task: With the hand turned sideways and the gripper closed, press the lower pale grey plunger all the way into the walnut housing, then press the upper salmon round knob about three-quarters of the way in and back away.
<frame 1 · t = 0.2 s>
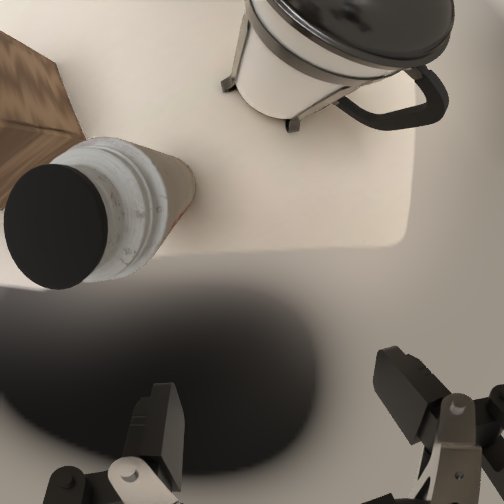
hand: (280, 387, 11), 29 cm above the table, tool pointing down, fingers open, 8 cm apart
thermos bottle: (163, 187, 36), on the table
housing: (10, 100, 29), on the table
coffee press: (288, 82, 35), on the table
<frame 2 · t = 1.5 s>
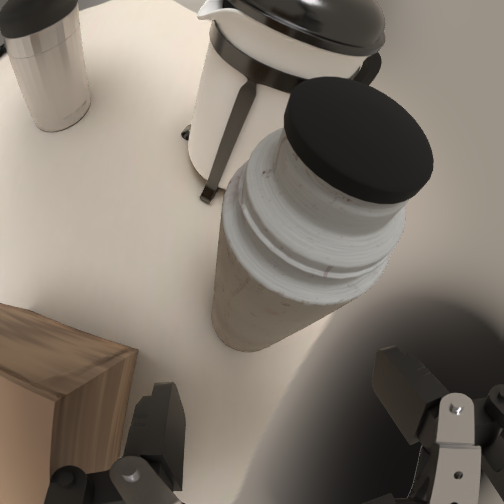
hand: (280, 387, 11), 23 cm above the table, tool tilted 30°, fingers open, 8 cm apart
thermos bottle: (248, 316, 33), point 1 cm above the table
housing: (14, 382, 24), on the table
coffee press: (239, 156, 39), on the table
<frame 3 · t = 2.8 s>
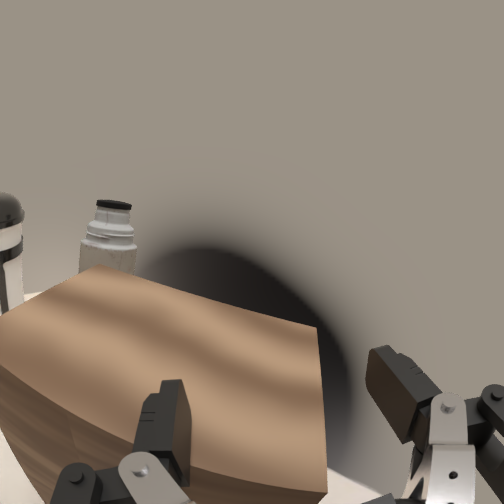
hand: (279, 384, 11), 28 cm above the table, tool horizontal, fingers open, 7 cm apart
thermos bottle: (104, 383, 41), on the table
coffee press: (2, 352, 37), on the table
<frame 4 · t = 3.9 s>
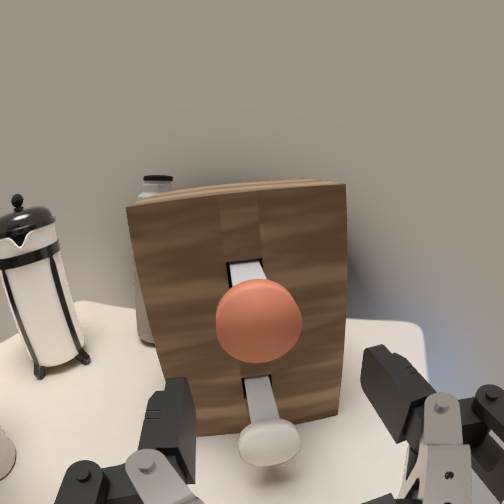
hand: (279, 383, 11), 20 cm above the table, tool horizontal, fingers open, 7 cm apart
grey plunger: (259, 398, 27), point 7 cm above the table, slide at 0.0 cm
salmon round knob: (248, 285, 24), point 19 cm above the table, slide at -0.1 cm
thermos bottle: (159, 334, 53), on the table
housing: (262, 429, 31), on the table
coffee press: (59, 356, 46), on the table
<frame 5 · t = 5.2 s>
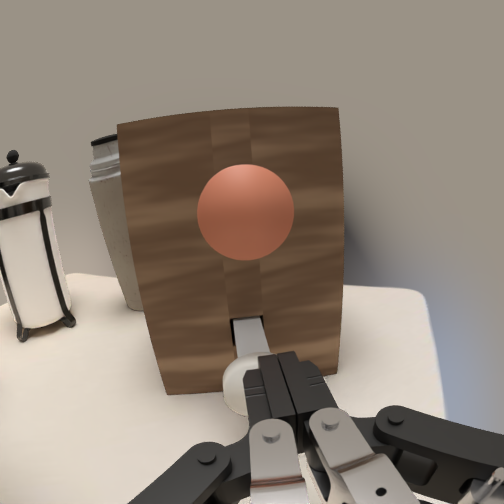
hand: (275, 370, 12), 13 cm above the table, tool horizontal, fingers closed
grey plunger: (249, 341, 26), point 7 cm above the table, slide at 0.0 cm
salmon round knob: (237, 199, 22), point 19 cm above the table, slide at -0.1 cm
thermos bottle: (148, 298, 51), point 1 cm above the table
housing: (253, 387, 29), on the table
coffee press: (44, 320, 45), on the table
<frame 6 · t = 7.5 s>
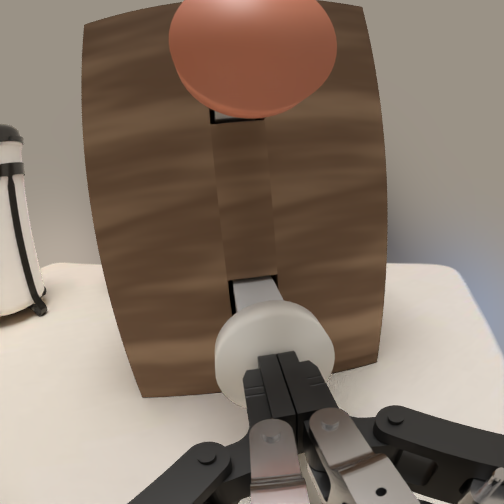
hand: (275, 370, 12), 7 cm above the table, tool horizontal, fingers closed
grey plunger: (255, 302, 18), point 7 cm above the table, slide at 1.4 cm, touching gripper
salmon round knob: (237, 88, 14), point 19 cm above the table, slide at -0.1 cm
housing: (263, 386, 21), on the table
coffee press: (15, 310, 36), on the table
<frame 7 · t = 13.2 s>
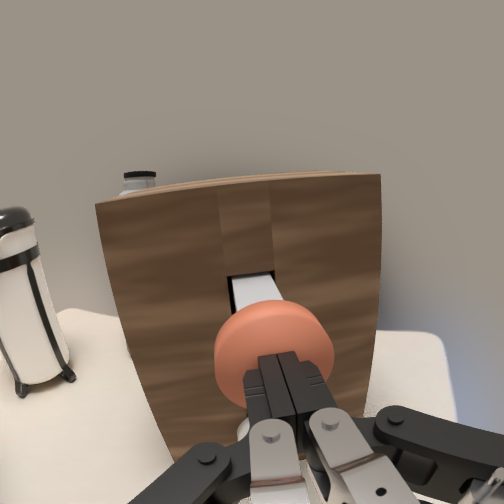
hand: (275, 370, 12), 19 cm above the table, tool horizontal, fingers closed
grey plunger: (258, 391, 27), point 7 cm above the table, slide at 6.1 cm
salmon round knob: (255, 302, 18), point 19 cm above the table, slide at 0.7 cm, touching gripper
thermos bottle: (150, 348, 47), on the table
housing: (270, 465, 24), on the table
coffee press: (43, 371, 40), on the table
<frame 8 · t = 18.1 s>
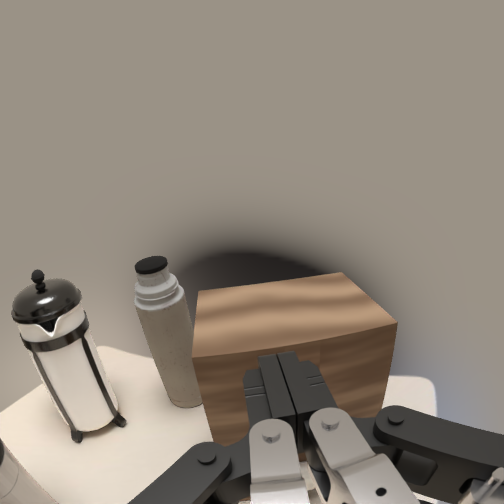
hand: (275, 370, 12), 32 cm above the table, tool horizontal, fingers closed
grey plunger: (293, 443, 33), point 7 cm above the table, slide at 6.1 cm
thermos bottle: (189, 393, 54), on the table
housing: (299, 491, 31), on the table
coffee press: (91, 415, 47), on the table
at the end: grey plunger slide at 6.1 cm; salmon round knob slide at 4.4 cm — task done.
